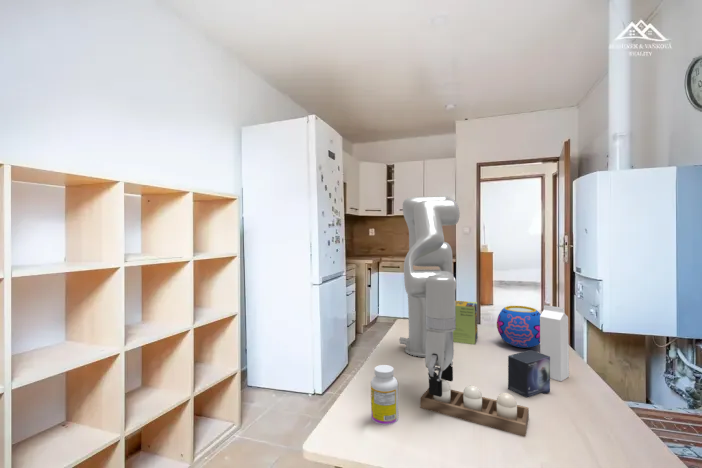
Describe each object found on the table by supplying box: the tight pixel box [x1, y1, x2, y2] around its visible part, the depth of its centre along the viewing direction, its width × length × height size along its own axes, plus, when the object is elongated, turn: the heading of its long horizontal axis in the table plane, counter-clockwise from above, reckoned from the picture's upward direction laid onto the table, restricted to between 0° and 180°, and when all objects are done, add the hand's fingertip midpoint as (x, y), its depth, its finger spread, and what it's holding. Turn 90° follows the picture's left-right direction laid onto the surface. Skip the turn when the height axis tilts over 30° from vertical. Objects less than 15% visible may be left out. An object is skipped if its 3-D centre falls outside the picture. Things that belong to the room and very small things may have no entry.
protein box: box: [453, 300, 479, 345], centre depth 145 cm, size 10×15×16 cm
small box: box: [507, 349, 551, 399], centre depth 96 cm, size 11×6×10 cm, turn 117°
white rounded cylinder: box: [433, 379, 451, 404], centre depth 88 cm, size 4×4×7 cm
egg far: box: [496, 392, 518, 421], centre depth 80 cm, size 4×4×7 cm
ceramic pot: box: [496, 305, 542, 349], centre depth 135 cm, size 18×18×15 cm
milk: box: [539, 304, 570, 382], centre depth 107 cm, size 6×6×22 cm
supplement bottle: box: [370, 364, 399, 426], centre depth 83 cm, size 7×7×13 cm
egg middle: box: [462, 384, 483, 412], centre depth 84 cm, size 4×4×7 cm
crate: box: [419, 387, 530, 438], centre depth 84 cm, size 24×9×3 cm, turn 58°
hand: (441, 387), depth 89 cm, fingers open, 9 cm apart
